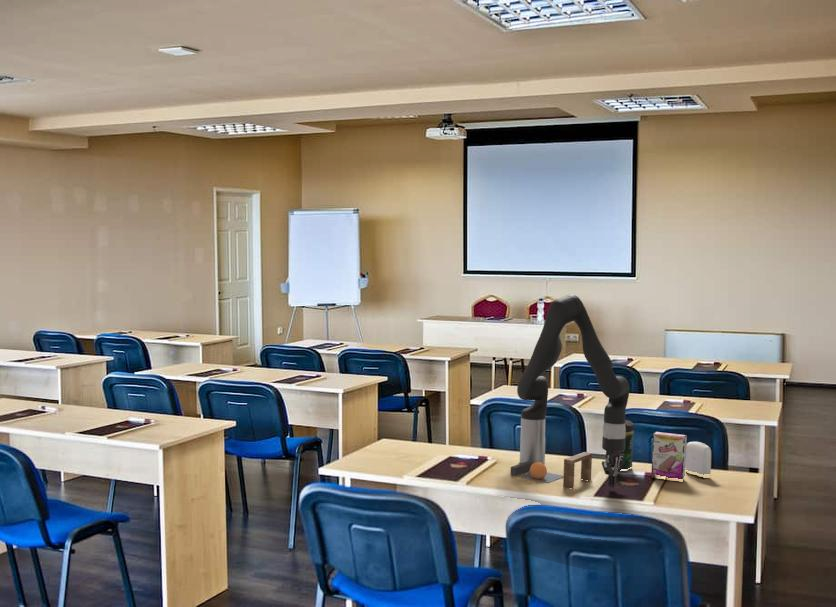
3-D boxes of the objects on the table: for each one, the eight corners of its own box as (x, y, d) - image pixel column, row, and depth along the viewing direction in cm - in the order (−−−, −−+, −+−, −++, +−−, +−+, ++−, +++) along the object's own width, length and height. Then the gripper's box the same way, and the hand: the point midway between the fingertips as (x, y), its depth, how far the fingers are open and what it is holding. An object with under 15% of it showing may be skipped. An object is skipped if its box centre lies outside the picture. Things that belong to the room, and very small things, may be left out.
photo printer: (682, 473, 319) (684, 439, 318) (691, 471, 321) (693, 439, 320) (703, 479, 309) (704, 445, 309) (712, 478, 311) (713, 444, 311)
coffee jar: (627, 473, 315) (629, 423, 314) (606, 470, 319) (608, 421, 318) (634, 468, 324) (636, 419, 323) (613, 465, 328) (615, 417, 327)
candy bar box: (650, 479, 308) (652, 433, 308) (653, 476, 313) (654, 431, 312) (683, 483, 304) (685, 437, 303) (685, 480, 308) (686, 434, 307)
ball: (547, 459, 306) (550, 476, 306) (531, 460, 308) (534, 476, 309) (542, 464, 300) (545, 481, 301) (526, 465, 303) (528, 481, 303)
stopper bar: (527, 469, 319) (527, 461, 318) (532, 470, 317) (532, 462, 317) (510, 475, 309) (510, 466, 309) (515, 476, 308) (515, 467, 308)
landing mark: (535, 470, 316) (535, 470, 316) (564, 476, 309) (565, 475, 309) (518, 476, 307) (518, 476, 307) (548, 482, 300) (548, 482, 300)
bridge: (563, 487, 294) (564, 459, 294) (583, 478, 306) (584, 451, 306) (570, 488, 293) (571, 460, 292) (591, 480, 304) (592, 453, 304)
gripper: (612, 431, 298) (610, 480, 299) (594, 437, 288) (593, 488, 288) (632, 434, 293) (630, 484, 294) (615, 440, 283) (613, 492, 284)
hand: (612, 486), depth 291 cm, fingers closed
